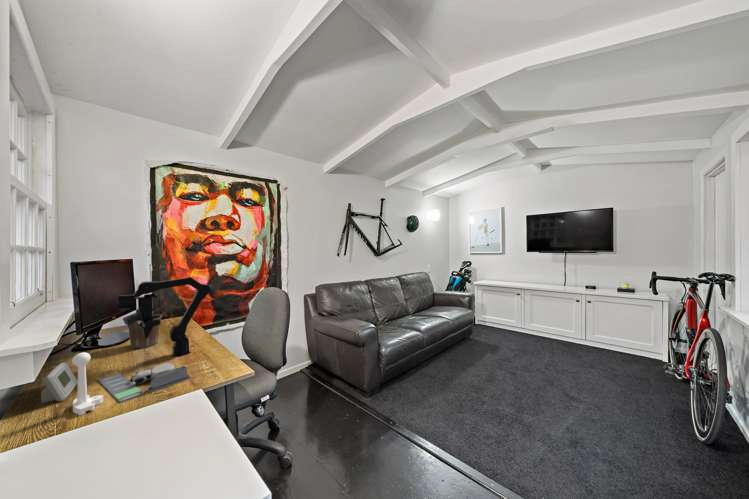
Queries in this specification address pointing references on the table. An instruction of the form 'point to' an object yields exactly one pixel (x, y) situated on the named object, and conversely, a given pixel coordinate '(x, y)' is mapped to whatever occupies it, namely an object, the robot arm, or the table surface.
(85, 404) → the joystick
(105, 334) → the table surface
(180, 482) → the table surface
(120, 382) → the scale strip
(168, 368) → the robot toy
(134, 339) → the plant pot
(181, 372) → the grey wedge block
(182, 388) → the table surface
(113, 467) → the table surface
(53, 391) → the digital clock
